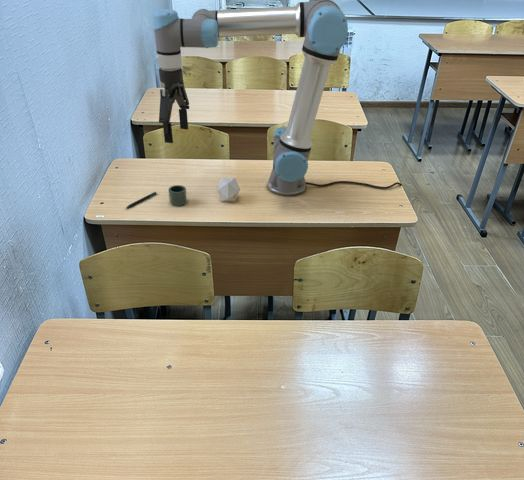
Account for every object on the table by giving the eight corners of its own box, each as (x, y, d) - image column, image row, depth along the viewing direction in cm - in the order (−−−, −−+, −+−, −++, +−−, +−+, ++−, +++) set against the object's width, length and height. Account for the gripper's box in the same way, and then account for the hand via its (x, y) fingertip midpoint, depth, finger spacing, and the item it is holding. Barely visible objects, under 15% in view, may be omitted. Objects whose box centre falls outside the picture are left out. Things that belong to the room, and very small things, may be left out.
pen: (125, 209, 188) (124, 206, 187) (154, 193, 198) (154, 191, 197) (127, 210, 188) (127, 207, 187) (156, 194, 197) (156, 191, 196)
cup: (187, 198, 195) (186, 185, 191) (186, 206, 190) (185, 192, 186) (171, 198, 195) (169, 185, 191) (169, 206, 190) (167, 192, 186)
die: (231, 209, 191) (245, 185, 188) (210, 195, 189) (224, 171, 186) (232, 206, 199) (245, 183, 196) (212, 193, 197) (225, 170, 194)
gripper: (174, 57, 172) (180, 122, 186) (142, 77, 154) (151, 147, 169) (195, 59, 170) (199, 124, 185) (165, 79, 153) (172, 149, 167)
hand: (176, 135), depth 177 cm, fingers open, 13 cm apart
